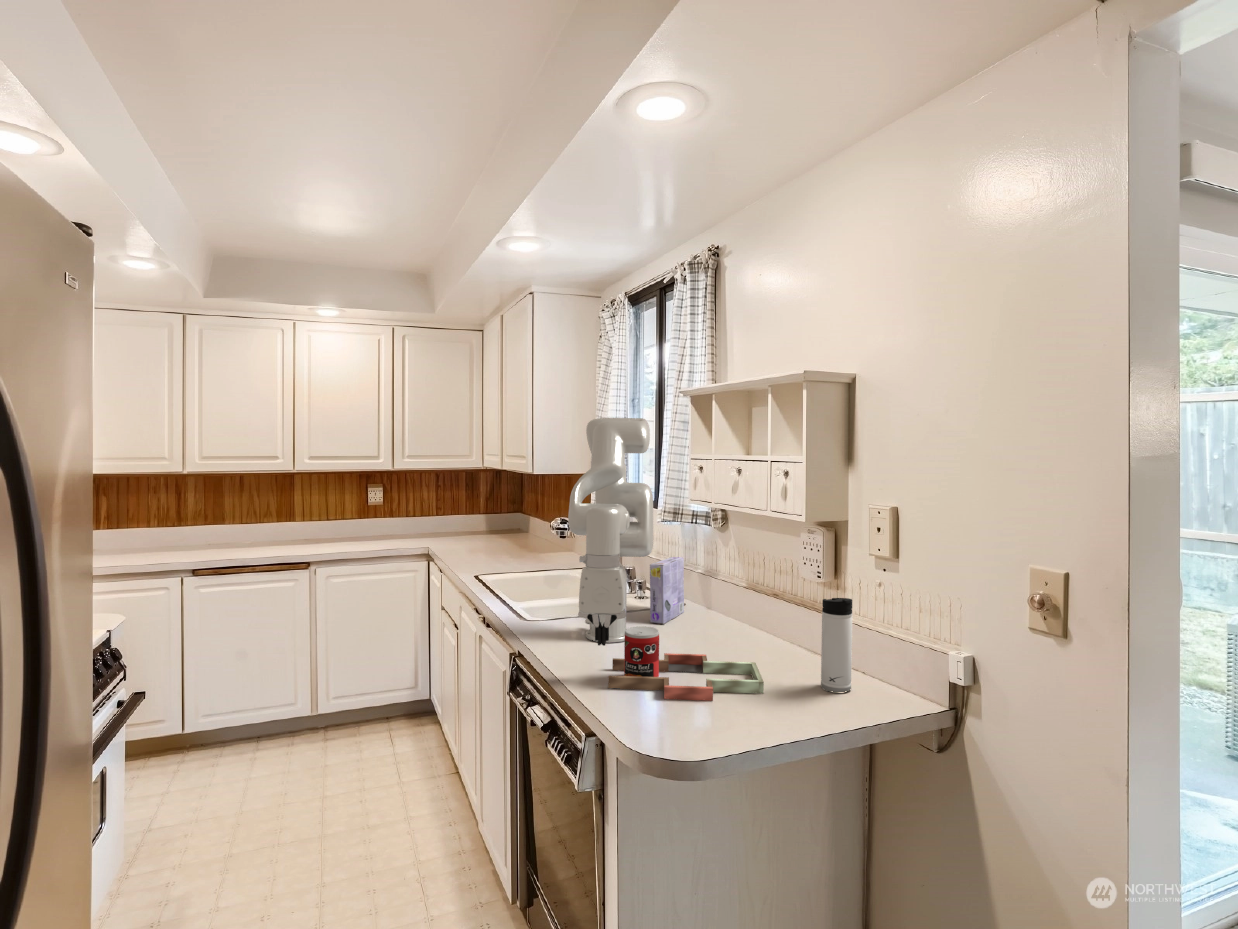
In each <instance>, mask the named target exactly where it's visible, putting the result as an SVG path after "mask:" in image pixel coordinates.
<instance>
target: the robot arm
mask: <svg viewBox="0 0 1238 929" xmlns="http://www.w3.org/2000/svg"><path fill="white" fill-rule="evenodd" d="M650 430H651V429H650V425H649V422H648V420H647V419H645V418H643V417H642V418H641V417H600V418H594V419H592V420H590V421H588V423H587V425H586V430H585V432H586V440H587V445H588V448H589V450H590V453H591V461H590V468H589V470H587V471H586V472H585V473H583V474H582V476H580V477H579V479H578V480H577V481H576V483H575V484H574V486H573V488H572V490H571V493H570V496H569V504H568V505H569V506H568V516H567V517H568V518H567V519H568V521H567V522H568V529H570V532H571V533H573V534H574V535H576V536H586V537H585V554H584V555H581V556H579V558H578V559H579V563H583V564H584V565H585V566H584V567H582V569H581V574H580V579H579V580H580V582H579V594H578V609H579V610H578V614H577V615H578V618H583V619H585V621H584V623H585V624H586V625H589V629H588V630H586V632H585V637H586V638H587V640H589V641H592V640H593V642H597V646H601V645H602V646H606V644H607V643H608V644H609V643H622V642H624V639H625V630H626V629H627V595H628V594H627V593H628V592H627V590H628V588H627V586H628V585H627V584H628V583H627V580H628V575H627V570H626V569H625V567H624V566H623V564H622V563H621V561H620V559H621V558H622V557H623V558H624V557H626V558H627V557H631V558H632V557H634V558H635V557H636V558H637V557H639V558H641V557H648V556H649V555H651V553H652V551H653V549H654V548H653V547H654V498H653V497H654V496H653V491H652V488H651V487H650V486H649V485H648V484H646V483H643V482H627V465H626V462H625V460H626V454H645V453H647V451H648V449H649V447H650V446H649V445H650V441H651V433H650V432H651V431H650ZM593 493H595V495H594V496H595V497H594V498H595V500H594V503H593V502H592V503H589V502H588V503H583V501H584V500H585V499H586V497H587V496H589V495H590V494H593ZM631 518H634V519H636V521H631Z"/></svg>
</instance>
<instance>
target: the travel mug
mask: <svg viewBox="0 0 1238 929" xmlns="http://www.w3.org/2000/svg"><path fill="white" fill-rule="evenodd" d="M852 650H853V598H847V597H832V598H831V599H830V598H829V599H827V598H823V599H822V610H821V650H820V653H821V659H820V661H821V662H820V687H821V689H822V690H824V691H826V690H827V691H826V692H828V691H833V692H845V691H849V690H850V689H851V690H852V665H853V663H852V661H853V660H852V659H853V658H852V657H853V654H852V652H853V651H852ZM849 692H850V691H849Z"/></svg>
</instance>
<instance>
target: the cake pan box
mask: <svg viewBox="0 0 1238 929" xmlns="http://www.w3.org/2000/svg"><path fill="white" fill-rule="evenodd" d="M684 561H685V558H684V557H683V556H680V557H679V556H676V557H675V556H673V557H672V556H671V557H668V558H665V559H661V560H659V561H657V562H653V563H650V564H649V598H650V599H649V614H650V617H649V618H650V621H649V622H650V623H653V624H660V625H665V624H666V623H669V621H671V620H674V619H676V618H677V617H678V616H679V615H681V614H684V613H685V585H684V583H685V580H684V579H685V573H684V572H685V570H684V569H685V568H684V567H685V566H684V565H685V562H684Z"/></svg>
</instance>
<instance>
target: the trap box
mask: <svg viewBox="0 0 1238 929" xmlns="http://www.w3.org/2000/svg"><path fill="white" fill-rule="evenodd" d="M663 654H664V655H663V659H659V673H686V674H687V673H689V674H690V673H691V674H722V675H749V674H752V675H751V677H752V679H735V678H734V679H733V678H706V681H705V682H706V684H705V686H698V685H697V686H694V685H691V686H690V685H670V677H669V676H668V677H667V676H663V677H662V676H659V677H640V676H624V675H608V676H607V678H608V679H607V682H608V683H607V689H608V688H620V689H619V690H638V691H640V690H642V691H643V690H645V691H663V696H664V697H663V699H664V700H679V701H680V700H681V701H682V700H683V701H710V702H711V701H714V693H728V694H729V693H731V694H732V693H734V694H736V693H737V694H739V693H740V694H760V693H762V695H763V694H764V693H765V692H764V688H765V687H764V686H765V683H764V682H765V681H764V680H763V677H762V674H761V672H760V670H759V668H758V666H757V663H756V662H754V661H753V662H751V661H750V662H749V661H719V660H718V661H717V660H711V661H710V660H708V657H707V654H705V653H704V654H700V653H699V654H698V653H697V654H696V653H694V654H693V653H667V652H666V653H663ZM611 665H612V669H611V671H618V670H619V671H622V672H624V658H617V657H615V658H614V657H612V664H611Z"/></svg>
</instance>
